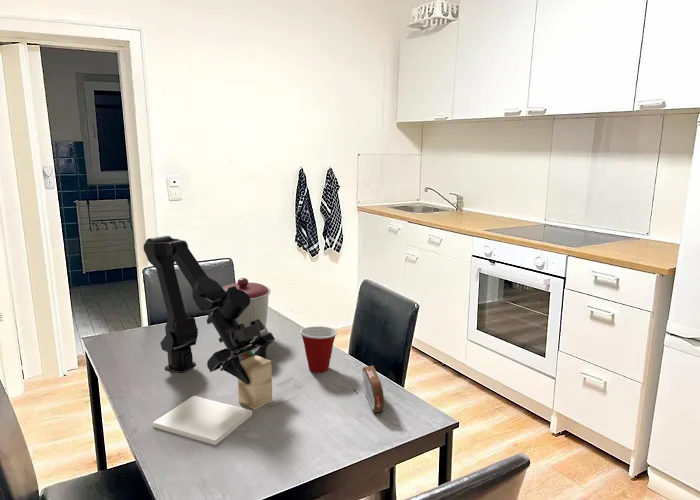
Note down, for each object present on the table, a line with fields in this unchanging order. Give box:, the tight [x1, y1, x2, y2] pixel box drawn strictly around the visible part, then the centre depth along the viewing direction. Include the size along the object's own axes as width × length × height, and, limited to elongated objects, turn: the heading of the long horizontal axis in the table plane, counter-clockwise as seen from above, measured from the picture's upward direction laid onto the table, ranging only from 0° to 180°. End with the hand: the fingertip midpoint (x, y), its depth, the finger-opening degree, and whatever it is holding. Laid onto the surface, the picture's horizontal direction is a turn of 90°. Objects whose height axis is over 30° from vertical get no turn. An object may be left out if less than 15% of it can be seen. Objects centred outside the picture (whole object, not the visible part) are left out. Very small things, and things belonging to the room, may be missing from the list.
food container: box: [241, 323, 269, 361], centre depth 155 cm, size 12×6×10 cm, turn 168°
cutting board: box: [152, 395, 253, 446], centre depth 122 cm, size 18×14×1 cm
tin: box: [362, 365, 385, 413], centre depth 130 cm, size 15×3×8 cm, turn 9°
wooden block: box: [237, 355, 273, 411], centre depth 130 cm, size 6×6×11 cm
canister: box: [221, 277, 271, 327], centre depth 171 cm, size 18×18×21 cm
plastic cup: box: [299, 325, 338, 374], centre depth 149 cm, size 11×11×12 cm
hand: (258, 379), depth 129 cm, fingers closed on wooden block, 6 cm apart
